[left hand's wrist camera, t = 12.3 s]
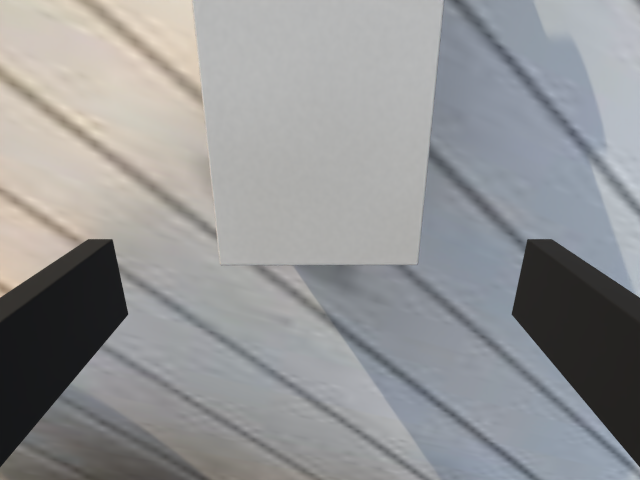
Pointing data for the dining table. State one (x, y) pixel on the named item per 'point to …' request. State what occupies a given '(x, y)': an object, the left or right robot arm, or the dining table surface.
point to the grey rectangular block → (318, 127)
